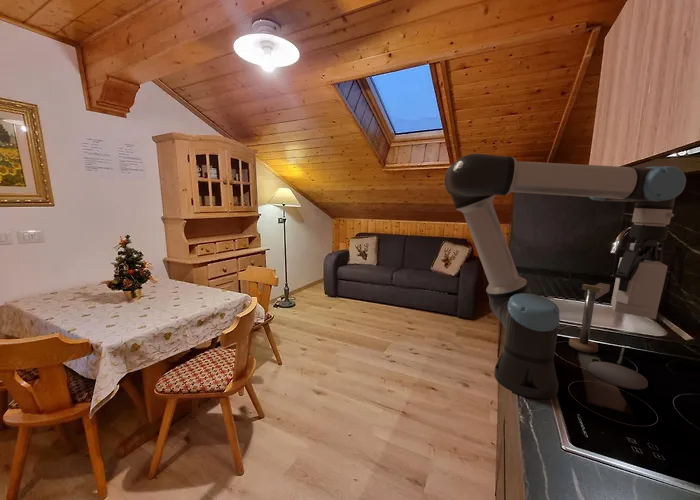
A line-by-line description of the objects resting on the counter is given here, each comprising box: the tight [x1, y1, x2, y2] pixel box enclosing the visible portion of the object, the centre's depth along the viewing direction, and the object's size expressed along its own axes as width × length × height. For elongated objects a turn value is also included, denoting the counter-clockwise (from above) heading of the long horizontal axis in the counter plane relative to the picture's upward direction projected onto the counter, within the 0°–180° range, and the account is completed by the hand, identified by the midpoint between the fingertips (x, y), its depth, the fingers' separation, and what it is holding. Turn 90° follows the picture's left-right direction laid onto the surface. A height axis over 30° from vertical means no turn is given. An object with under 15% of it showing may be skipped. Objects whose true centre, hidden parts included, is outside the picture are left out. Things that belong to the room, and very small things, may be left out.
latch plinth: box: [568, 337, 599, 354], centre depth 105 cm, size 8×8×2 cm
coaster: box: [587, 361, 649, 391], centre depth 88 cm, size 13×13×1 cm
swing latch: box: [579, 282, 611, 344], centre depth 108 cm, size 17×5×20 cm, turn 128°
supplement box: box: [610, 256, 668, 320], centre depth 87 cm, size 9×9×15 cm
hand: (634, 300), depth 88 cm, fingers closed on supplement box, 12 cm apart
